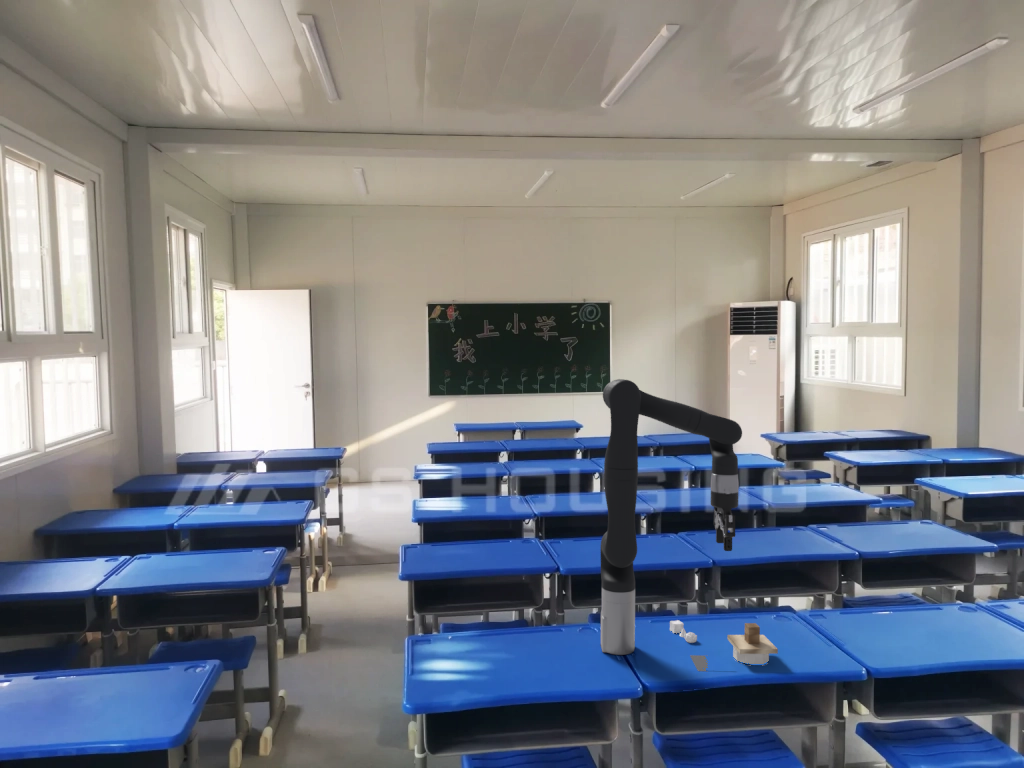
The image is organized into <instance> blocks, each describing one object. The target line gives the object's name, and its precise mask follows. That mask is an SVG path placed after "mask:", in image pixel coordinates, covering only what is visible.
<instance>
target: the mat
mask: <svg viewBox="0 0 1024 768" xmlns="http://www.w3.org/2000/svg"><path fill="white" fill-rule="evenodd" d="M705 656H706V655H700V654H699V655H698V654H697V655H694V654H690V655H689V657H690V659H691V661H692V662H693V664H694V666H695V668H696V670H697V671H698V672H707V671H706V668H708V667H707V666H708V665H707V664H708V663H707V662H708V661H707V659H706V657H705ZM705 659H706V660H705ZM706 661H707V662H706ZM703 668H704V669H703Z"/></svg>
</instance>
